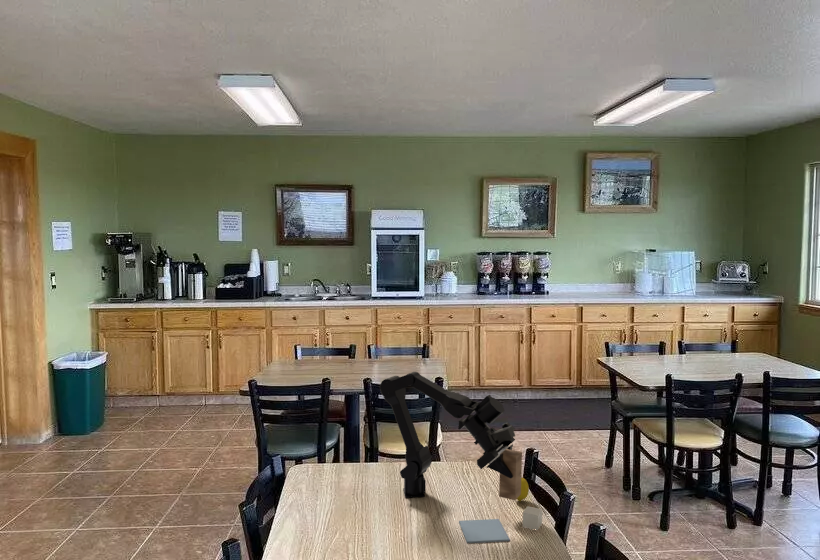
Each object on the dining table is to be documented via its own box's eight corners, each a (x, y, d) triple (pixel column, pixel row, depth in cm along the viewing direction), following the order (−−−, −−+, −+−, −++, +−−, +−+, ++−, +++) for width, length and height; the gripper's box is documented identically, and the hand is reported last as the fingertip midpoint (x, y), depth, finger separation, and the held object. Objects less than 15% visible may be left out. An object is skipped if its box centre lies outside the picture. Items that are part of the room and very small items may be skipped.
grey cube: (522, 527, 167) (522, 512, 166) (527, 520, 171) (527, 506, 170) (537, 531, 165) (538, 515, 164) (542, 524, 168) (542, 509, 168)
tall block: (499, 496, 172) (500, 453, 171) (505, 490, 176) (506, 448, 175) (515, 500, 169) (516, 456, 168) (520, 494, 173) (522, 451, 173)
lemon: (528, 505, 180) (528, 480, 180) (510, 504, 181) (510, 479, 181) (528, 498, 186) (528, 474, 185) (511, 496, 187) (511, 472, 186)
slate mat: (467, 543, 157) (467, 541, 157) (458, 522, 169) (458, 520, 169) (509, 541, 159) (509, 539, 159) (498, 520, 171) (498, 518, 171)
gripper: (487, 424, 165) (524, 470, 160) (509, 408, 181) (543, 449, 177) (461, 447, 169) (496, 491, 165) (485, 429, 186) (518, 469, 181)
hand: (515, 474), depth 172 cm, fingers closed on tall block, 5 cm apart
